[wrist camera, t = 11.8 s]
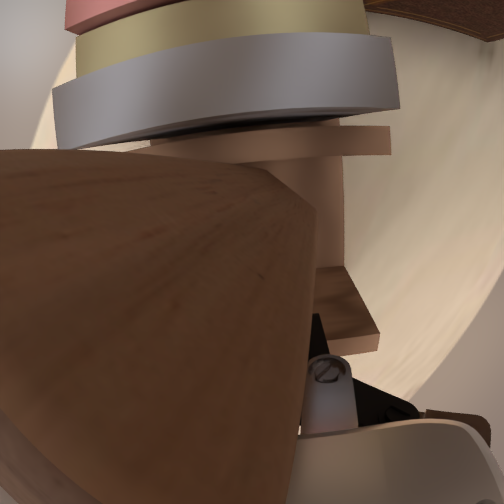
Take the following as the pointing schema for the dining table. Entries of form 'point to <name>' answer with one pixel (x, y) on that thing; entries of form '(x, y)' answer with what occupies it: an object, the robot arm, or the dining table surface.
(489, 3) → the book
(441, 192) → the dining table surface
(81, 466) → the wooden block
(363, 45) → the book rack
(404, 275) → the dining table surface
